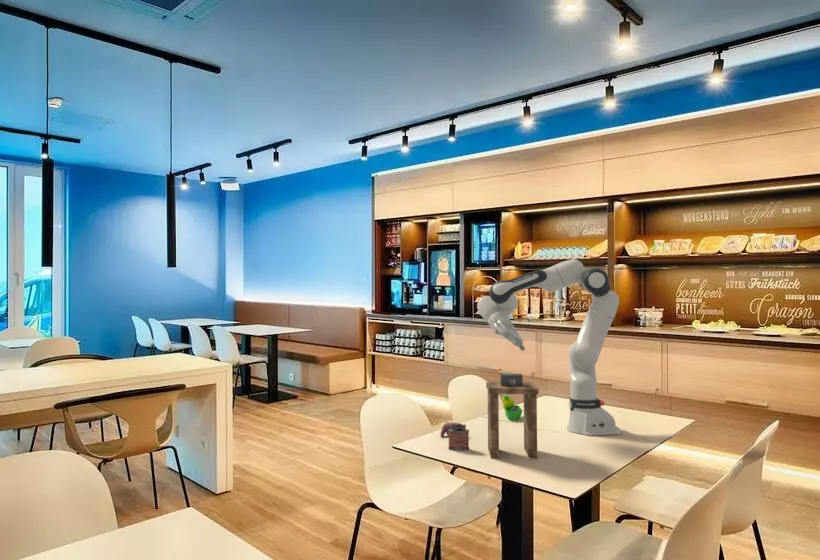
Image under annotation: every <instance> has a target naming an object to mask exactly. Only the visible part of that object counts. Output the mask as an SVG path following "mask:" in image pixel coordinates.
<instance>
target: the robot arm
mask: <svg viewBox="0 0 820 560" xmlns="http://www.w3.org/2000/svg"><path fill="white" fill-rule="evenodd" d="M575 284H578V285H579V287H581V288H582V289H583V290H584V291H585V292H587V293H589V294H591V295H592V300H591V304H590V306H589V308H588V310H587V312H586V315H585V317H584V320H583V321H582V324H581V326H580V330H579V333H578V335H577V338H576V340H575V341H574V342H573V343H572V344H571V345H570V346H569V350H568V360H569V362H568V365H569V376H570V377H569V378H570V381H569V383H570V385H569V387H570V397H569V401H568V403H569V404H568V405H569V419H568V424H567V428H566V429H567V431H569V432H571V433H576V434H580V435H585V436H590V437H591V436H611V435H612V436H614V435H622V429H621V428H620V427H618V425H616V420H615V417H614V416H613V415H612V414H611V413H609V412H608V411H607V410H606V409H604V408H603V406H605V401H604V400H602V399H600V398H598V396H597V394H598V393H597V392H598V391H597V390H598V389H597V374H596V373H597V372H596V365H597V363H598V360H599V357H600V354H601V353H602V349H603V346H604V342H605V340H606V336H607V335H608V333H609V331H610V328H611V326H612V323H613V321H614V319H615V317H616V314H617V312H618V311H617V310H618V307H619V304H620V298H619V295H618V294H617V293H616V292H615V291H613V290H611V283H610V277H609V275H608V273H607V272H606V271H605V270H604V269H602V268H600V267H594V268H589V269H588V268H586V267H585V266H584V264H583V262H581V261H580V260H578V259H576V258H572V259H568V260H564V261H561V262H558V263H557V264H554V265H551V266H550V267H547V268H545V269H544V268H543V269H538V270H533V271H531V272H527V273H524V274H522V275H518V276H516V277H513V278H509V279H506V280H498V281H496V282H494V283H493V284H492V285H491V286H490V288H489V291H488V295H484V296H483V295H482V296H481V298H480V299H479V300H478V302H477V305H476V309H477V311H478V313H479V315H480V316H481V317H482V319H484V321H485V322H487V323H488V325H489V327H490V328H491V329H492V331H493V333H495V334H496V335H498V336H499V335H500V336H502V337H503V338H505V339H506V340H507V341H509V342H510V343H511V344H513V346H516V347H517V348H519V349H520V350H521V351H522V352H524V351H526V347H525V346H524V344H523V343H524V340H523V338H522V336H520V334H519V332H518V331H517V330H516V327H515V325H513V322H512V320H511V319H510V317H508V315H510V314H511V313H512V312H515V310H517V308H518V306H519V300H518V297H517V295H516V293H518V292H521V291H523V290H526V289H529V288H534V287H537V288H540V289H543V290H544V291H546V292H551V293H555V292H558V291H560V290H563V289H565V288H568V287H570V286H571V285H575Z"/></svg>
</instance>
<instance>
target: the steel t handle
mask: <svg viewBox="0 0 820 560" xmlns="http://www.w3.org/2000/svg"><path fill="white" fill-rule="evenodd" d="M523 377H524V376H523V374H522V373H511V372H510V371H503V372H502V373H500V374H499V382H500V385H501V386H523V382H524V381H523V380H524V378H523Z"/></svg>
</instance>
